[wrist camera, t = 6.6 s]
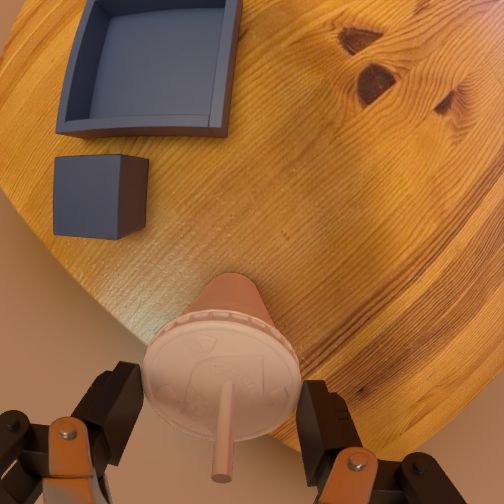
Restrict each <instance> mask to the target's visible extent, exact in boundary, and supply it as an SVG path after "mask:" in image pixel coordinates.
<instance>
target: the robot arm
mask: <svg viewBox="0 0 504 504" xmlns="http://www.w3.org/2000/svg"><path fill="white" fill-rule="evenodd" d="M143 399H144V393H143V387H142V380H141V371H140V366H139V364H135V363H130V362H125V361H119V363H118V364H117V366H116V367H115V369H114V370H113V372H112V371H108V370H107V371H105V372H104V373H102V374H100V375H99V376H97V378H96V379H95V381H94V382H93V383H92V386H91V387H90V388H89V389H88V391H87V393H86V394H85V395H84V397H83V398H82V400H81V401H80V403H79V404H78V406H77V407H76V408H75V410H74V412H73V413H72V415H71V416H70V417H62V418H59V419H57V420H55V421H54V422H53V423H52V424H51V425H50V426H48V425H39V424H31V423H30V422H29V419H28V417H27V416H26V415H25V414H24V413H23V412H21V411H17V410H10V411H6V412H4V413H2V414H1V415H0V504H34V503H35V501H36V500H37V499H38V497H39V496H40V495H41V493H42V492H43V499H44V504H113V502H112V498H111V494H110V490H109V485H108V481H107V476H106V473H105V469H106V467H107V464H111V465H114V466H118V464H119V462H120V459H121V456H122V454H123V452H124V449H125V447H126V444H127V442H128V440H129V437H130V434H131V432H132V430H133V427H134V425H135V423H136V420H137V418H138V415H139V413H140V410H141V409H142V406H143ZM296 424H297V429H298V435H299V441H300V446H301V452H302V457H303V463H304V469H305V474H306V480H307V486H308V487H311V486H317V488H318V495H317V496H316V498H315V501H314V503H313V504H467V503H466V502H465V500H464V499H463V498H462V496H461V495H460V493H459V492H458V490H457V489H456V488H455V486H454V485H453V484H452V482H451V481H450V479H449V478H448V477H447V475H446V474H445V472H444V471H443V470H442V468H441V467H440V466H439V464H438V463H437V461H436V460H435V459H434V458H433V457H432V456H430V455H428V454H426V453H421V452H415V453H411V454H409V455H407V456H406V457H405V458H404V460H403V461H402V462H396V461H384V460H379V459H377V457H376V456H375V455H374V453H372V452H371V451H370V450H368V449H365V448H363V446H362V443H361V441H360V438H359V436H358V433H357V430H356V428H355V425H354V423H353V420H352V419H351V415H350V413H349V412H348V408H347V405H346V403H345V400H344V399H343V398H341V397H340V396H339V395H338V394H337V393H336V392H333V393H329V392H328V389H327V387H326V384H325V381H324V380H304V382H303V385H302V389H301V394H300V398H299V402H298V406H297V411H296ZM15 460H17V462H16V463H15V464H14V466H13V467H12V468H11V469H10V470H9V471H8V473H7V474H6V475H5V476H4V477H3V479H2V480H1V477H2V475H3V473H4V472H5V471H6V470H7V469H8V468H9V467H10V465H11V464H12V463H13V462H14V461H15Z"/></svg>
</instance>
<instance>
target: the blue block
mask: <svg viewBox="0 0 504 504" xmlns="http://www.w3.org/2000/svg"><path fill="white" fill-rule="evenodd" d="M148 163H149V160H148V159H145V158H140V157H134V156H129V155H123V154H102V155H79V156H63V157H56V158H55V166H54V187H53V230H54V235H61V236H73V237H85V238H97V239H108V240H119V239H121V238H123V237H125V236H127V235H129V234H131V233H133V232H135V231H138V230H140V229H142V228H144V227H145V214H146V192H147V176H148Z"/></svg>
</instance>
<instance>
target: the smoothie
mask: <svg viewBox="0 0 504 504" xmlns="http://www.w3.org/2000/svg"><path fill="white" fill-rule="evenodd" d="M141 380H142V387H143V391H144V394H145V396H146V398H147V400H148V402H149V403H150V405H151V406H152V408H153V409H154V410H155V411H156V412H157V413H158V414H159V416H161V417H162V418H163V419H164V420H165V421H166V422H168V423H169V424H170V425H172V426H173V427H175V428H176V429H178V430H180V431H182V432H184V433H186V434H189V435H191V436H194V437H197V438H201V439H205V440H210V441H215V446H214V455H213V464H212V474H211V479H212V480H213V481H215V482H217V483H229V482H231V481H232V469H233V445H234V441H235V442H236V441H244V440H249V439H253V438H256V437H259V436H262V435H264V434H267V433H269V432H270V431H272V430H274V429H276V428H277V427H279V426H280V425H281V424H282V423H284V422H285V421H286V420H287V419H288V418H289V417H290V415H291V414H292V413H293V411H294V410H295V408H296V406H297V404H298V402H299V398H300V394H301V389H302V380H301V374H300V369H299V361H298V358H297V356H296V354H295V352H294V350H293V348H292V346H291V344H290V342H289V341H288V340H287V339H286V338H285V337H284V336H283V335H282V334H281V333H280V332H279V331H278V330H277V329H276V328H275V326H274V324H273V322H272V320H271V318H270V316H269V313H268V311H267V309H266V307H265V305H264V303H263V301H262V299H261V296H260V294H259V292H258V290H257V288H256V286H255V285H254V283H253V282H252V281H251V280H250V279H249V278H247V277H246V276H244V275H241V274H238V273H224V274H220V275H218V276H216V277H215V278H213V279H212V280H211V281H210V282H209V283H208V285H207V286H206V287H205V288H204V289H203V290H202V292H201V293H200V294H199V295H198V296H197V298H196V299H195V300H194V301H193V302H192V303H191V305H190V306H189V307H188V308H187V309H186V311H185V312H184V313H183V314H182V315H181V316H180V317H177V318H175V319H173V320H171V321H170V322H168V323H167V324H166V325H165V326H164V327H162V328H161V329H160V330H159V331H157V333H156V334H155V336H154V337H153V339H152V341H151V342H150V344H149V345H148V348H147V352H146V354H145V356H144V359H143V362H142V366H141Z"/></svg>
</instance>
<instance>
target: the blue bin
mask: <svg viewBox="0 0 504 504" xmlns="http://www.w3.org/2000/svg"><path fill="white" fill-rule="evenodd" d="M242 7H243V0H87V3H86V5H85V8H84V11H83V14H82V17H81V20H80V23H79V26H78V29H77V32H76V35H75V39H74V42H73V46H72V49H71V53H70V57H69V61H68V65H67V69H66V73H65V78H64V83H63V88H62V93H61V98H60V104H59V110H58V117H57V124H56V132H55V133H56V134H61V135H67V136H72V137H77V138H82V139H85V138H100V137H120V136H201V137H222V138H227V132H228V122H229V112H230V103H231V94H232V85H233V76H234V68H235V60H236V51H237V44H238V36H239V28H240V21H241V14H242Z"/></svg>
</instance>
